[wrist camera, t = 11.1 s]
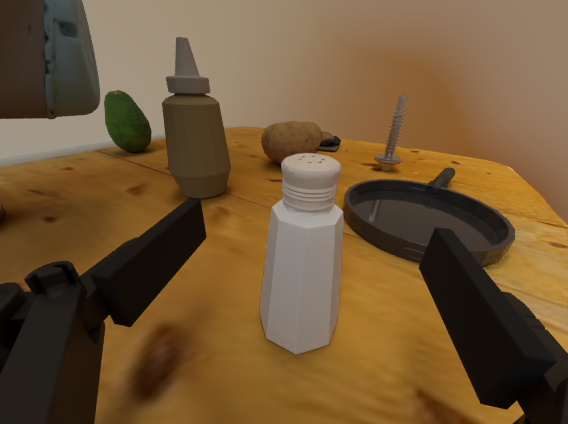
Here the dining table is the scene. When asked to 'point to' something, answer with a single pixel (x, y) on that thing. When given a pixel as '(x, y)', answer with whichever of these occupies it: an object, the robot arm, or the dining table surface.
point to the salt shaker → (303, 256)
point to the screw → (392, 139)
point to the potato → (290, 139)
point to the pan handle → (441, 181)
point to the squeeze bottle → (194, 130)
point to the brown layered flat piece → (329, 142)
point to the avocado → (126, 122)
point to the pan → (424, 219)
